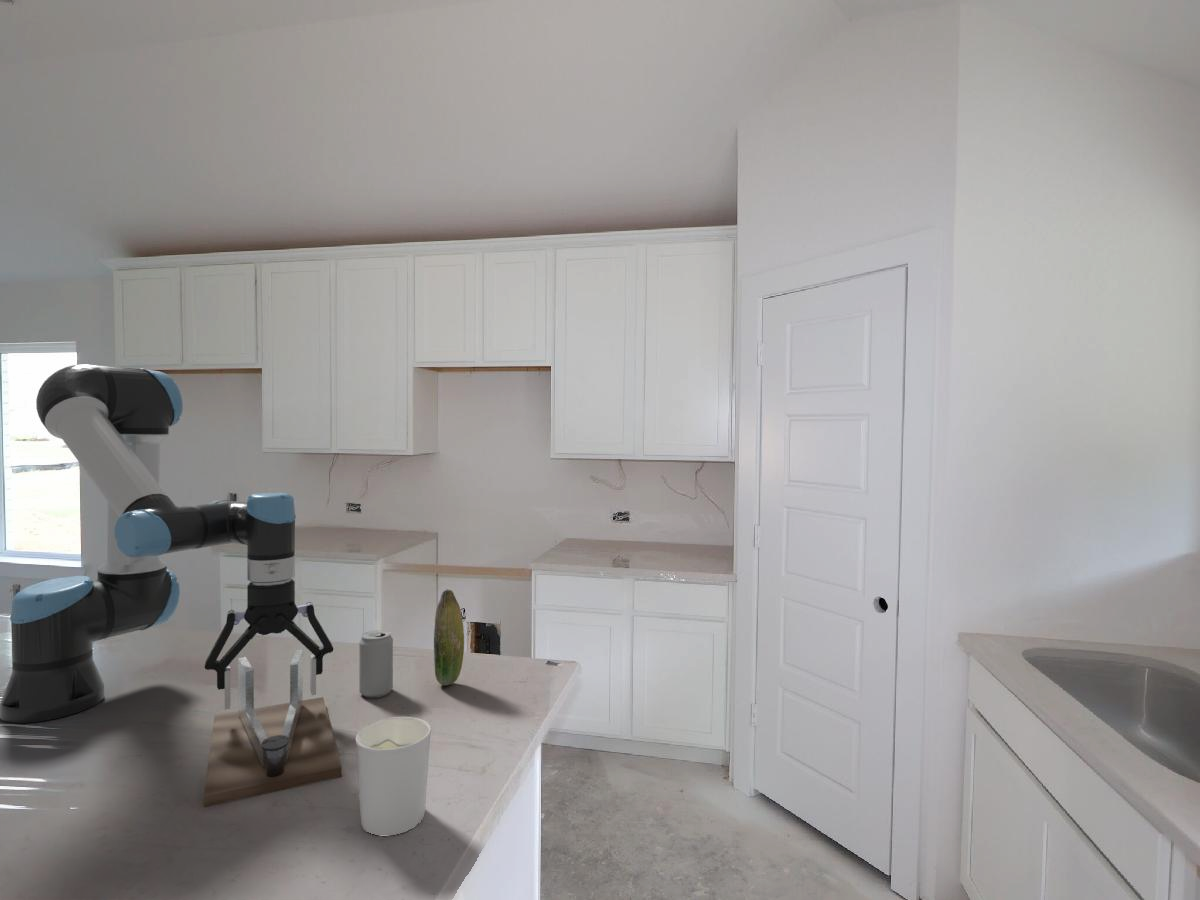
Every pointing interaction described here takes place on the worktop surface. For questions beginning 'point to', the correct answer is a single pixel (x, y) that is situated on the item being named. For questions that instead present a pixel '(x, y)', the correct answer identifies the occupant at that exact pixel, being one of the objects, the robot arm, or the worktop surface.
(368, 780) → the candle holder
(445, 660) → the vegetable
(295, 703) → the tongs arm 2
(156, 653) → the worktop surface
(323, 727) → the walnut board
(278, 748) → the tongs hinge post
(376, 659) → the beverage can
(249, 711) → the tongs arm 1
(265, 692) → the worktop surface
